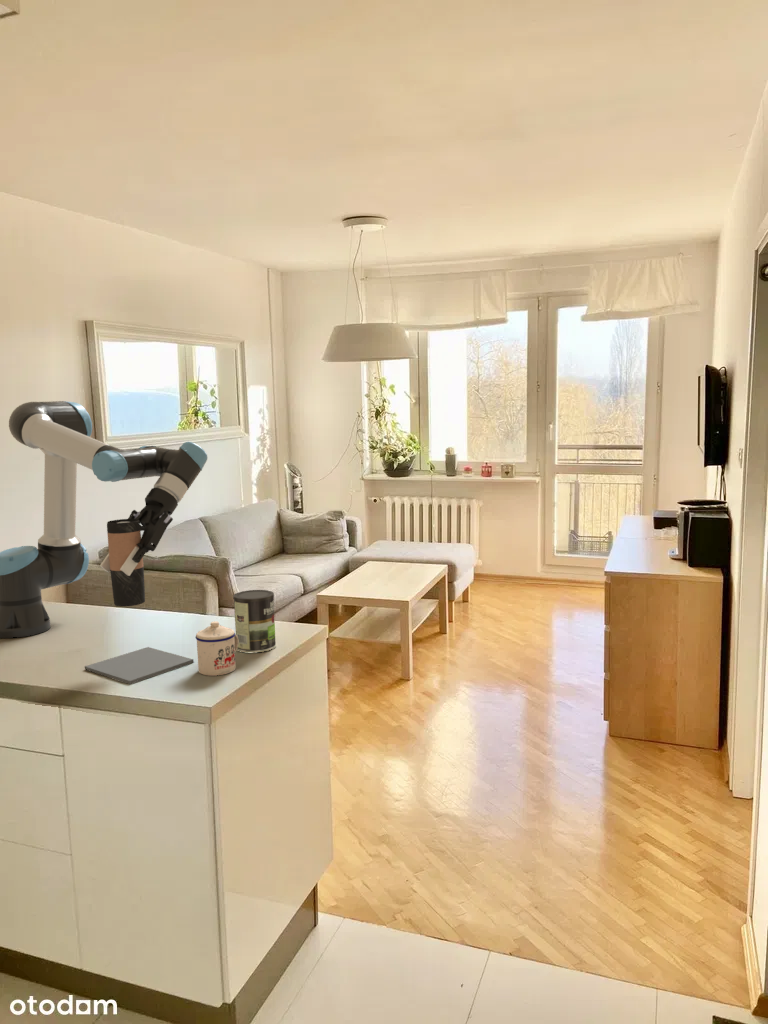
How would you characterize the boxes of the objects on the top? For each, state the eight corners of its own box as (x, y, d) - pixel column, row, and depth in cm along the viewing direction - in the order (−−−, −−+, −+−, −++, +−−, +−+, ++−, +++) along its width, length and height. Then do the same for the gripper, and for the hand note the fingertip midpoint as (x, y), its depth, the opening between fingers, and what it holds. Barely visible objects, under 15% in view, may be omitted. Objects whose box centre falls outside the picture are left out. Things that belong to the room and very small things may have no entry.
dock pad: (84, 669, 186) (84, 666, 186) (148, 650, 200) (147, 647, 200) (130, 684, 175) (129, 680, 175) (193, 662, 189) (193, 659, 189)
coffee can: (281, 642, 204) (279, 589, 202) (268, 654, 194) (265, 599, 192) (244, 640, 206) (242, 588, 204) (229, 652, 196) (226, 598, 194)
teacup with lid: (218, 679, 177) (215, 629, 176) (189, 672, 182) (186, 624, 180) (252, 663, 187) (250, 616, 186) (224, 658, 192) (222, 612, 191)
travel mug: (153, 600, 189) (146, 519, 187) (130, 607, 182) (123, 523, 180) (128, 598, 192) (122, 518, 190) (106, 605, 186) (99, 522, 183)
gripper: (201, 506, 191) (151, 584, 180) (150, 503, 203) (100, 575, 192) (182, 487, 186) (129, 565, 175) (131, 484, 198) (78, 558, 187)
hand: (114, 570), depth 184 cm, fingers closed on travel mug, 7 cm apart
